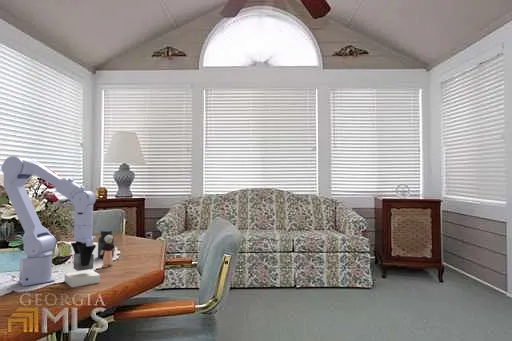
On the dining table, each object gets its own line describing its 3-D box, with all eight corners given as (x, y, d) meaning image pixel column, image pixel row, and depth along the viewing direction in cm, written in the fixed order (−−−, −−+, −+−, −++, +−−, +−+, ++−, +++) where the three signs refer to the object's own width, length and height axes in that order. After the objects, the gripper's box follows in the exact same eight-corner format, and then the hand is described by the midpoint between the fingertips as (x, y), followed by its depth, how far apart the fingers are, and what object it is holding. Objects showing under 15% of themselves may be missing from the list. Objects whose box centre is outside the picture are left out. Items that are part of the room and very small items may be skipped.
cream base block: (71, 288, 117) (72, 279, 117) (64, 282, 124) (64, 273, 124) (100, 283, 123) (100, 274, 123) (91, 277, 130) (91, 269, 130)
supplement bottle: (116, 256, 163) (117, 230, 163) (103, 259, 157) (104, 232, 157) (107, 254, 167) (108, 229, 167) (94, 257, 161) (95, 230, 161)
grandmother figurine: (106, 268, 142) (107, 236, 142) (98, 267, 143) (98, 236, 143) (117, 263, 149) (118, 233, 150) (109, 263, 150) (110, 233, 150)
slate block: (77, 271, 120) (78, 256, 120) (73, 268, 124) (73, 253, 124) (93, 268, 123) (93, 254, 124) (88, 265, 127) (88, 251, 127)
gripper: (102, 226, 121) (101, 266, 121) (89, 222, 132) (88, 258, 132) (80, 227, 116) (79, 269, 116) (68, 223, 127) (67, 261, 127)
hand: (82, 264), depth 123 cm, fingers closed on slate block, 5 cm apart
